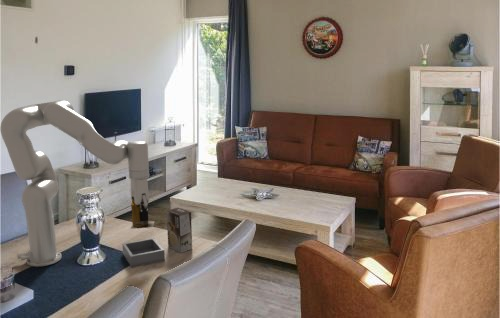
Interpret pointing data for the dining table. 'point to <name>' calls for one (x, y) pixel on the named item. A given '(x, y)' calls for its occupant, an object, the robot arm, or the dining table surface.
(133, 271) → the dining table surface
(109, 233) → the dining table surface
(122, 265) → the dining table surface
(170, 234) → the coffee box
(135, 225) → the condiment
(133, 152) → the robot arm
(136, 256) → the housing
